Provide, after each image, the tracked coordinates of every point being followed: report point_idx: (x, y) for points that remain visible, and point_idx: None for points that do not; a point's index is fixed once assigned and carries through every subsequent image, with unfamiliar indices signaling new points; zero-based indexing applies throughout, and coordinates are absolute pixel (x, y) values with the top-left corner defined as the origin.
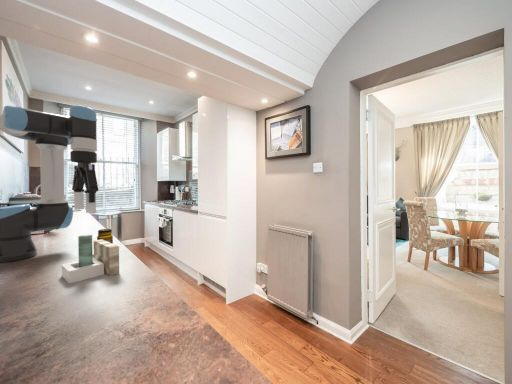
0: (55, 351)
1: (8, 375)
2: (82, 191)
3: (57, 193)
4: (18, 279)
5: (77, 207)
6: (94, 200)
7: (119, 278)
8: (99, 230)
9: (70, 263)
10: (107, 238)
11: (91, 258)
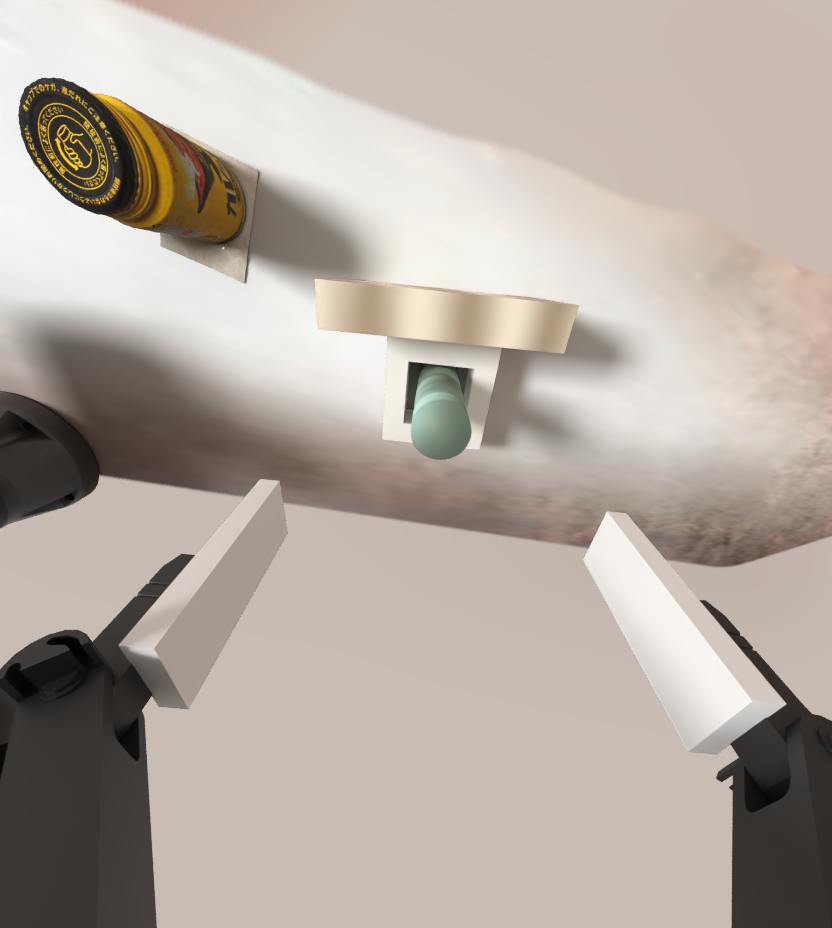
0: (743, 531)
1: (724, 566)
2: (104, 660)
3: None
4: (323, 489)
5: (277, 532)
6: (728, 624)
7: (584, 325)
8: (85, 200)
9: (390, 418)
10: (177, 173)
11: (458, 381)
